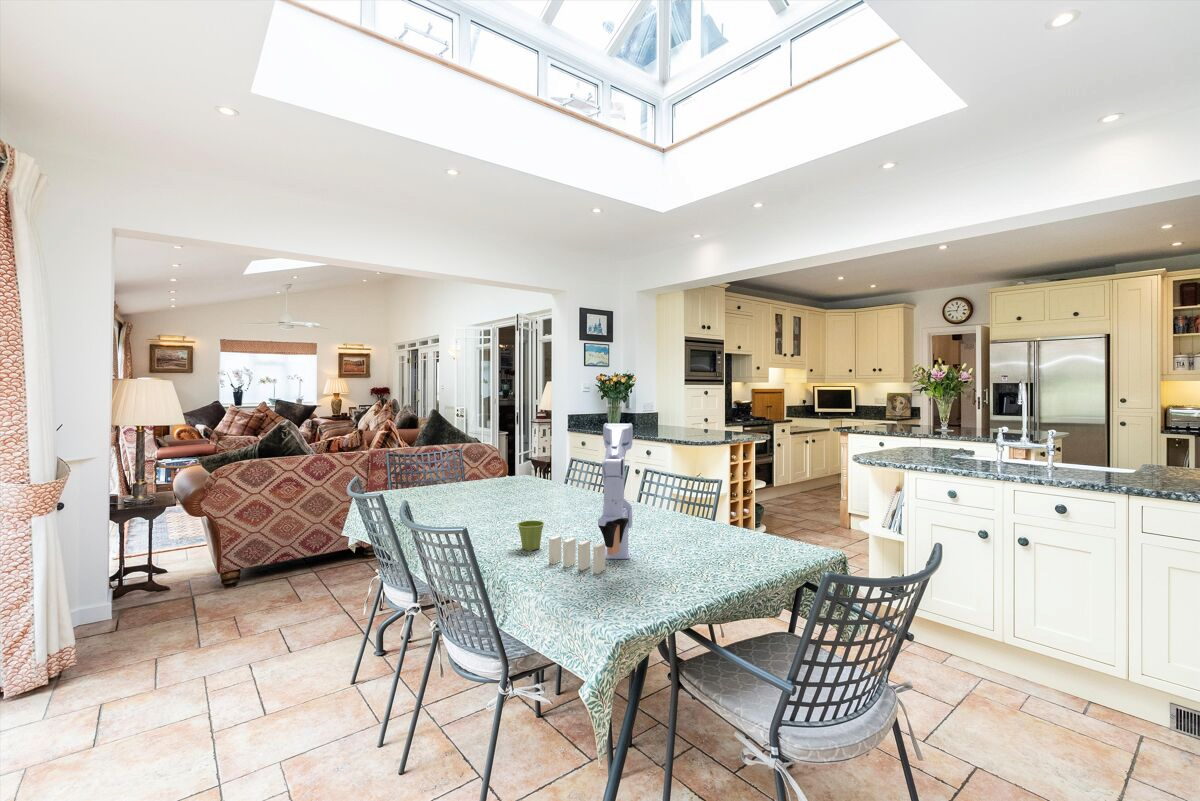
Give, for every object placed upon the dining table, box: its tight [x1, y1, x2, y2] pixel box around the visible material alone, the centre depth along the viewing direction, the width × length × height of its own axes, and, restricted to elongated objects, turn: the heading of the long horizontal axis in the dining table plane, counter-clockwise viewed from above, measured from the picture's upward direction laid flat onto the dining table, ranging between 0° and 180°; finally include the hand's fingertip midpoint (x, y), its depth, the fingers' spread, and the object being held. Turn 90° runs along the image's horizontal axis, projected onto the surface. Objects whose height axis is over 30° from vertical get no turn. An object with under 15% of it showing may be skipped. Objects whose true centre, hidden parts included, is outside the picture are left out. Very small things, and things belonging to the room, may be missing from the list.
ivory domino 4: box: [592, 542, 606, 574], centre depth 164 cm, size 2×4×8 cm, turn 149°
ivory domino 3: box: [577, 540, 591, 571], centre depth 167 cm, size 2×4×8 cm, turn 149°
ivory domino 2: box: [562, 537, 577, 568], centre depth 169 cm, size 2×4×8 cm, turn 149°
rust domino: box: [606, 524, 620, 555], centre depth 159 cm, size 2×4×8 cm, turn 149°
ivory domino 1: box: [548, 535, 562, 565], centre depth 172 cm, size 2×4×8 cm, turn 149°
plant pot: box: [517, 519, 545, 551], centre depth 187 cm, size 9×9×9 cm
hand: (613, 544), depth 159 cm, fingers closed on rust domino, 4 cm apart
